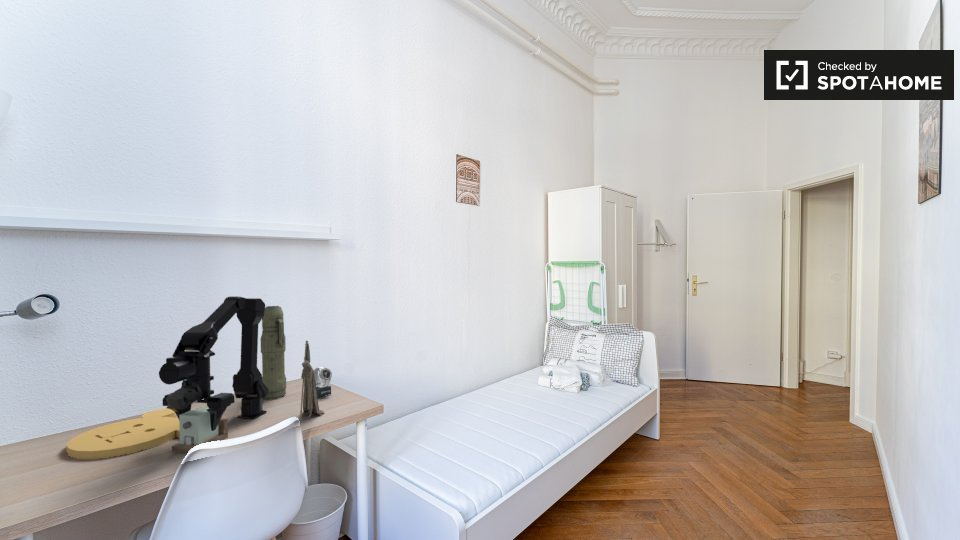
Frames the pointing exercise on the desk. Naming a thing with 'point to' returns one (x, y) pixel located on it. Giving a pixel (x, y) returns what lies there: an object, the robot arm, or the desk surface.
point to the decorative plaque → (126, 436)
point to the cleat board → (190, 441)
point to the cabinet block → (196, 426)
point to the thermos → (273, 352)
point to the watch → (326, 378)
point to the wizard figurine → (309, 387)
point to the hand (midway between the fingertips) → (199, 429)
